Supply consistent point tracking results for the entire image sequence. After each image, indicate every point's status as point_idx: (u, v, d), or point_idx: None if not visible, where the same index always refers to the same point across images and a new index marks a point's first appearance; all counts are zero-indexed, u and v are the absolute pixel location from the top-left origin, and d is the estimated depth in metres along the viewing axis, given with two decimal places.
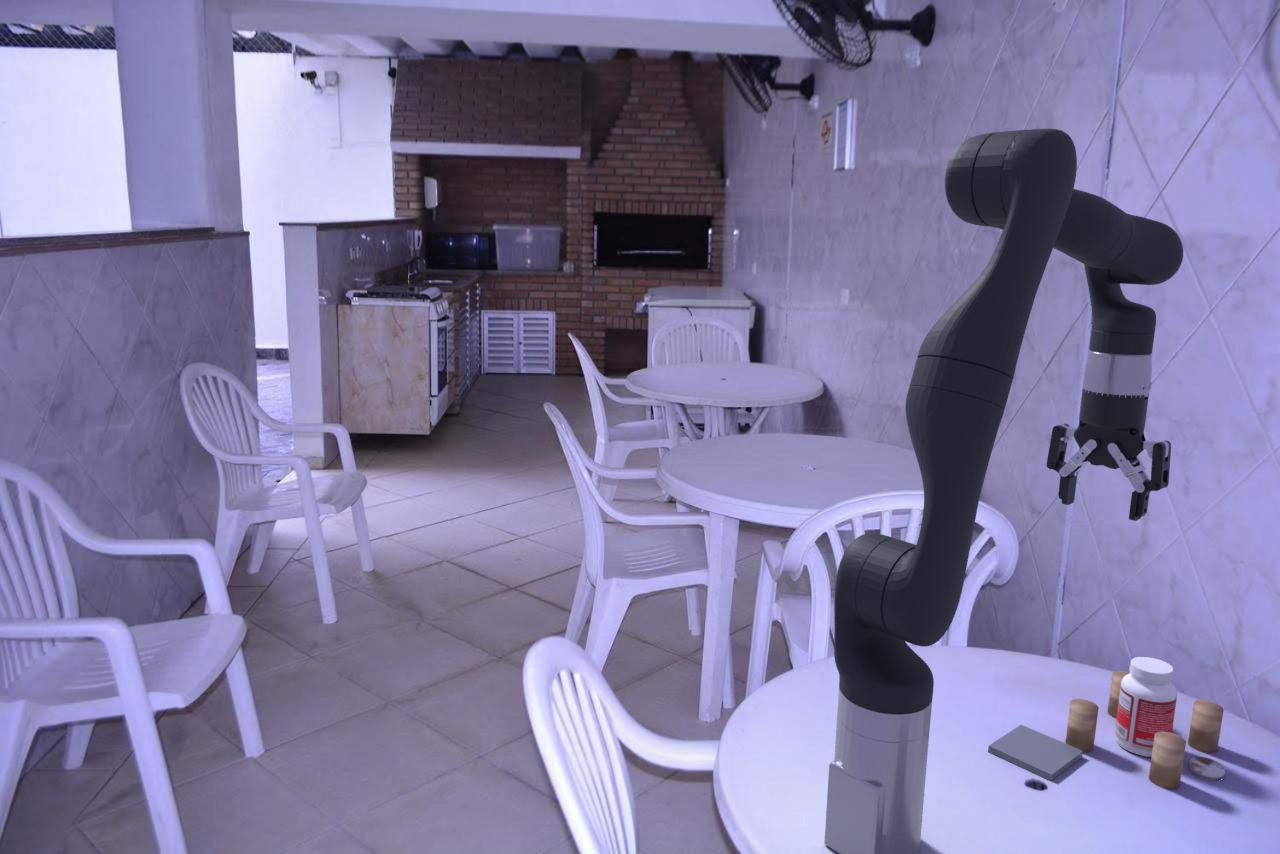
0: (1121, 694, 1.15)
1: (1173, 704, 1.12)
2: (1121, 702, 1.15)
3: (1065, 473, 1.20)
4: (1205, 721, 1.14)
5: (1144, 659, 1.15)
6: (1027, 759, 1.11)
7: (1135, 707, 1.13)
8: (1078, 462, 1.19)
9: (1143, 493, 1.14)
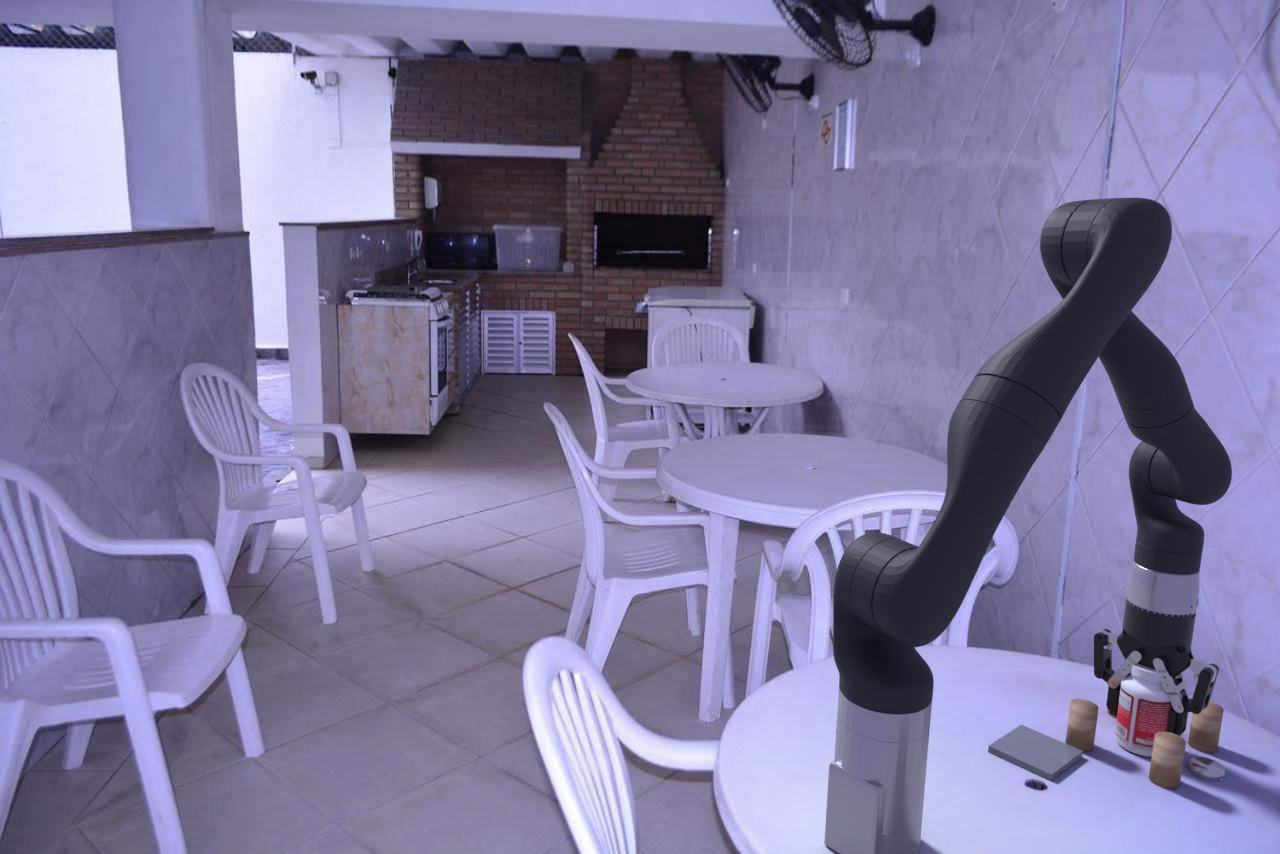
0: (1121, 694, 1.15)
1: None
2: (1121, 702, 1.15)
3: (1114, 684, 1.16)
4: (1205, 721, 1.14)
5: None
6: (1027, 759, 1.11)
7: (1135, 707, 1.13)
8: (1125, 674, 1.15)
9: (1182, 713, 1.11)
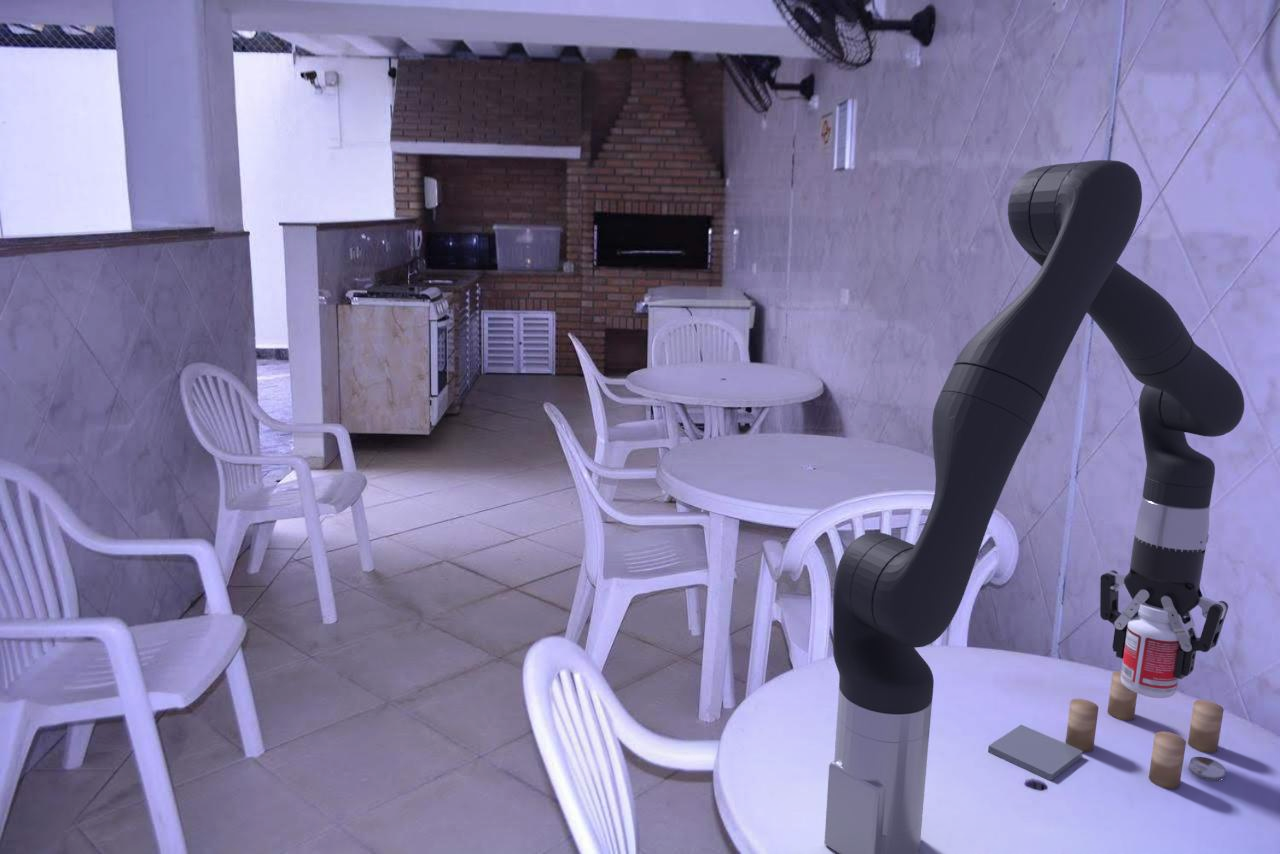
0: (1128, 635, 1.13)
1: None
2: (1128, 643, 1.13)
3: (1120, 625, 1.15)
4: (1205, 721, 1.14)
5: None
6: (1027, 759, 1.11)
7: (1142, 647, 1.11)
8: (1132, 614, 1.13)
9: (1190, 652, 1.09)
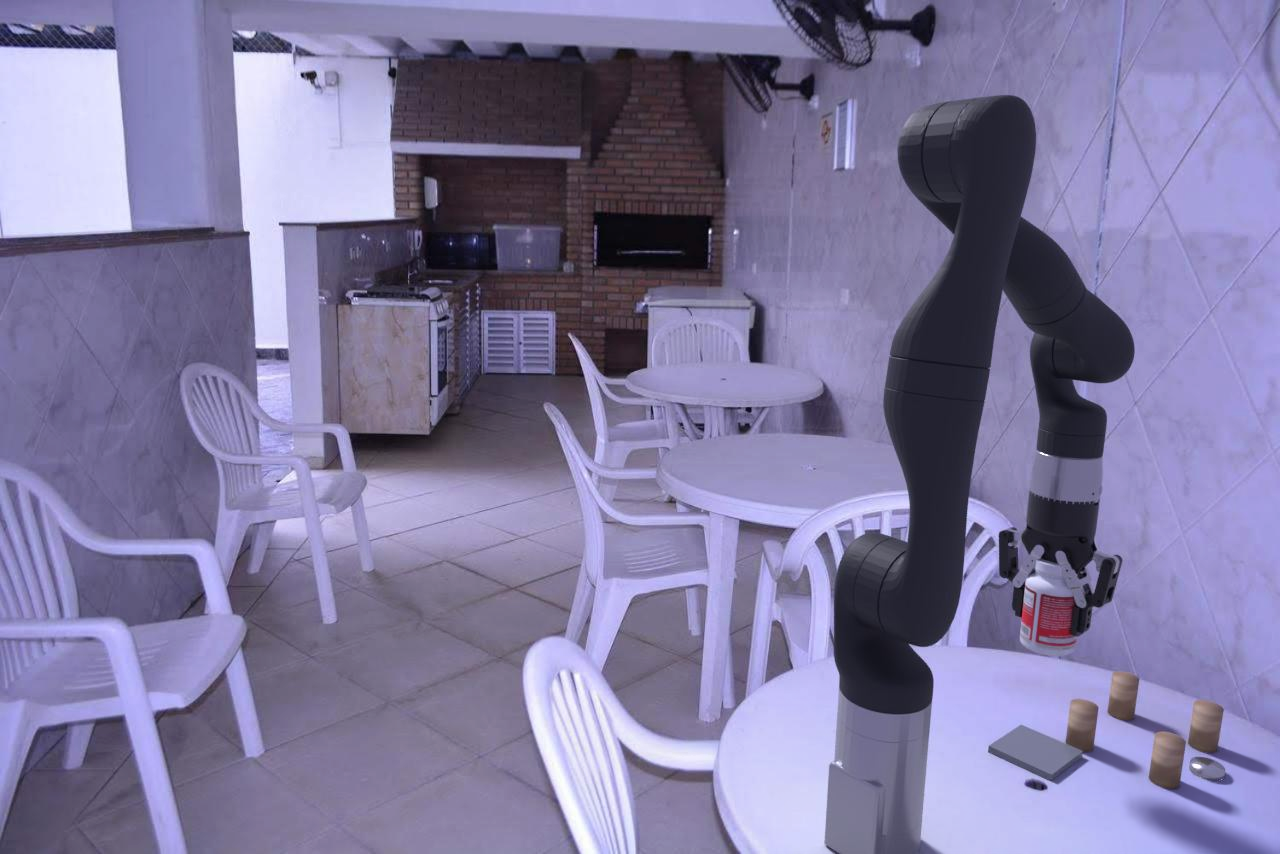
0: (1025, 592, 1.10)
1: None
2: (1025, 600, 1.10)
3: (1018, 583, 1.11)
4: (1205, 721, 1.14)
5: None
6: (1027, 759, 1.11)
7: (1037, 604, 1.08)
8: (1029, 570, 1.09)
9: (1085, 608, 1.06)
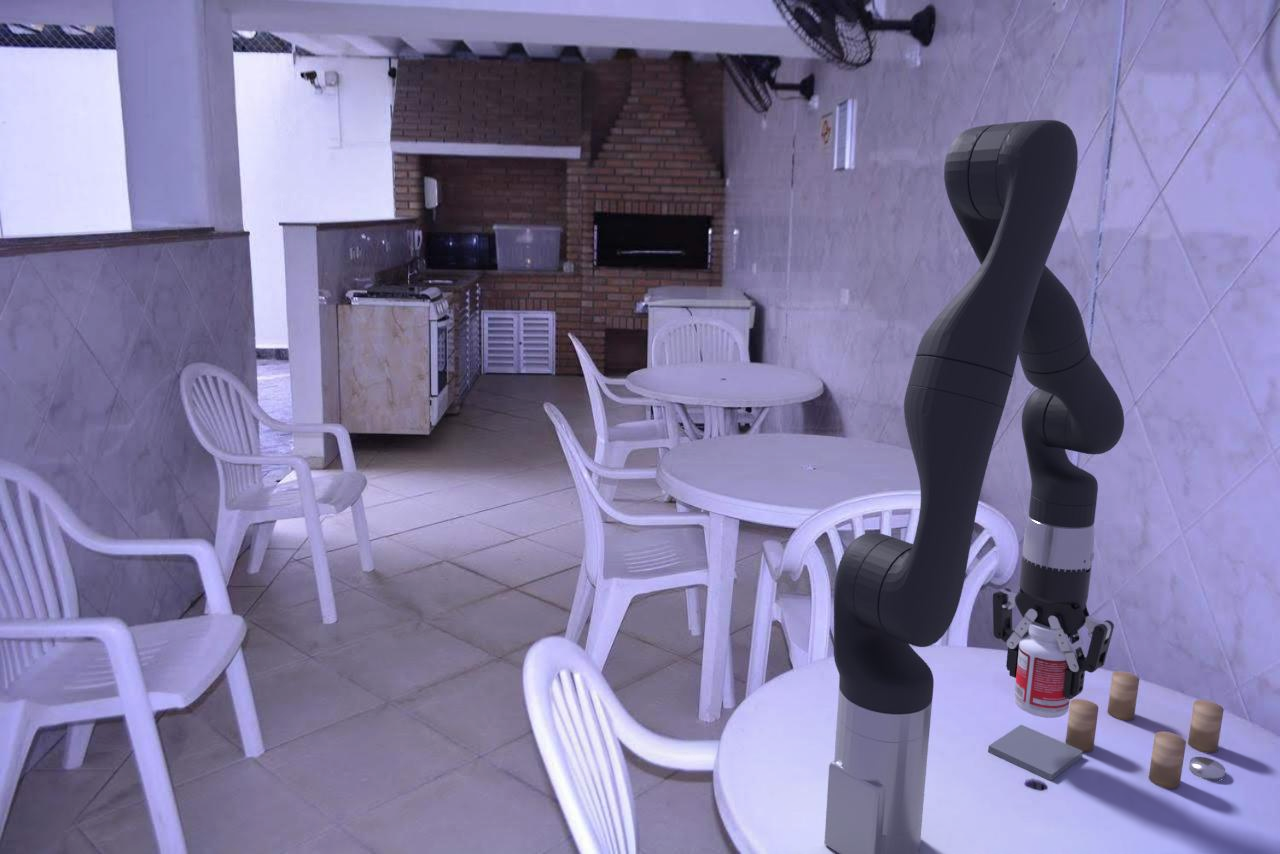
0: (1019, 654, 1.12)
1: None
2: (1019, 662, 1.11)
3: (1012, 644, 1.13)
4: (1205, 721, 1.14)
5: None
6: (1027, 759, 1.11)
7: (1031, 667, 1.09)
8: (1023, 633, 1.11)
9: (1078, 672, 1.07)
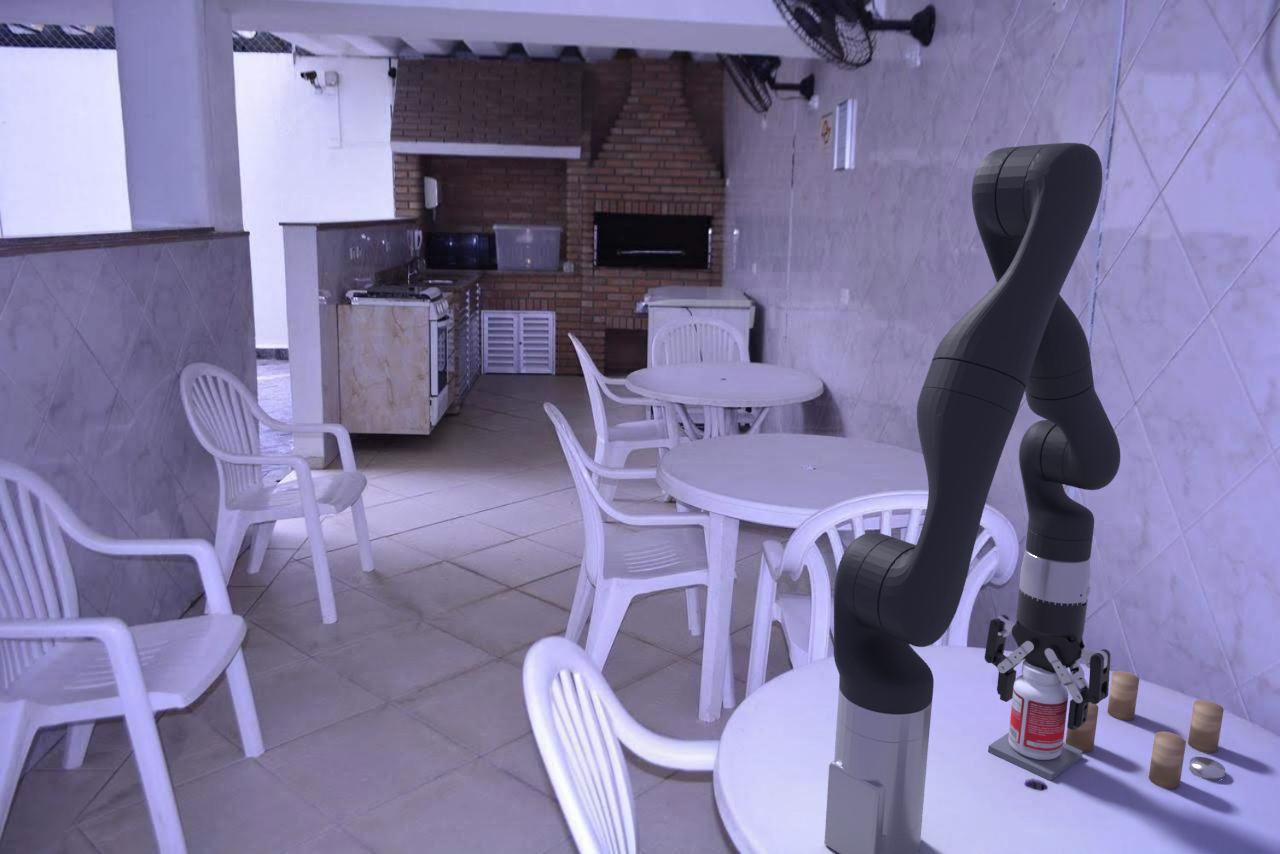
0: (1013, 695, 1.13)
1: (1063, 706, 1.10)
2: (1013, 704, 1.13)
3: (1003, 669, 1.14)
4: (1205, 721, 1.14)
5: None
6: (1027, 759, 1.11)
7: (1025, 709, 1.11)
8: (1015, 661, 1.12)
9: (1082, 703, 1.08)
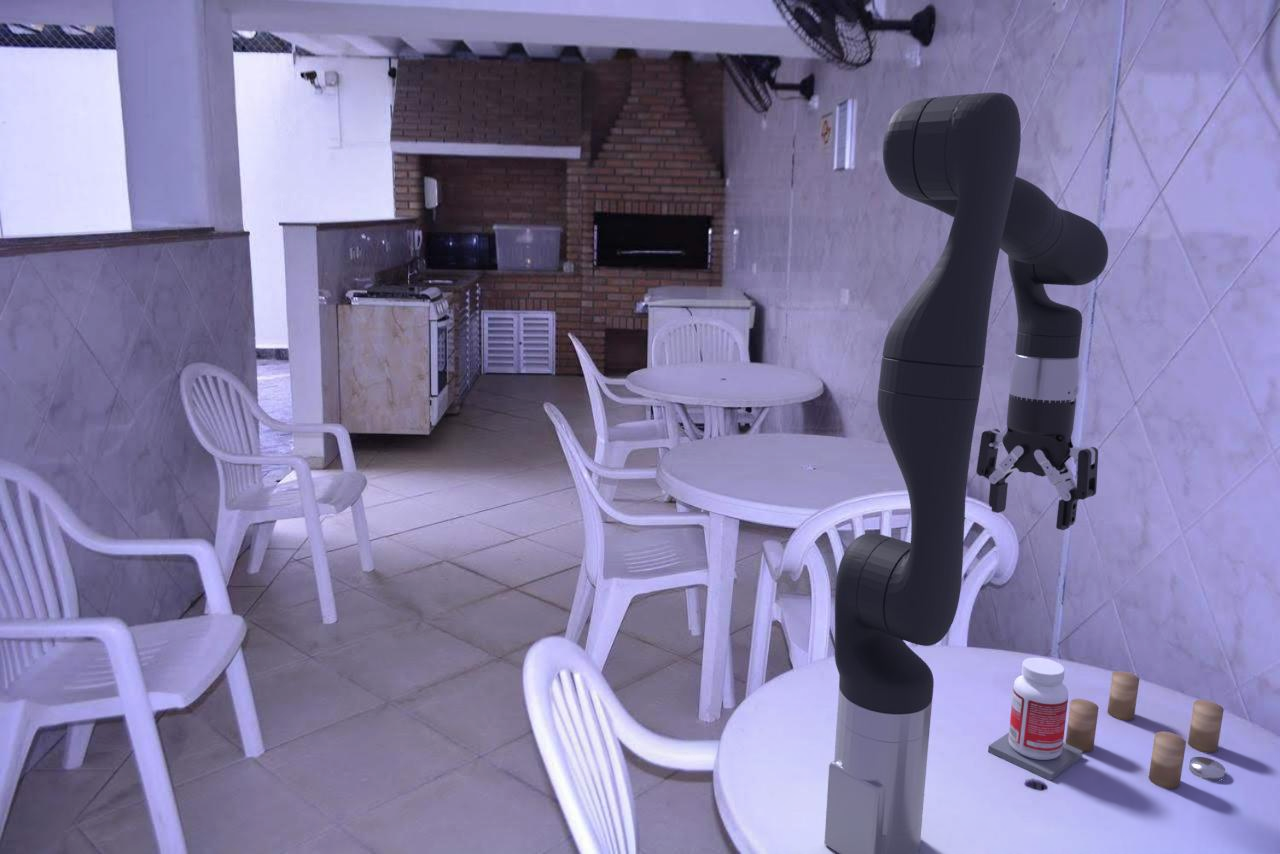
0: (1013, 695, 1.13)
1: (1063, 706, 1.10)
2: (1013, 704, 1.13)
3: (994, 480, 1.17)
4: (1205, 721, 1.14)
5: (1037, 660, 1.13)
6: (1027, 759, 1.11)
7: (1025, 709, 1.11)
8: (1006, 469, 1.15)
9: (1070, 502, 1.10)
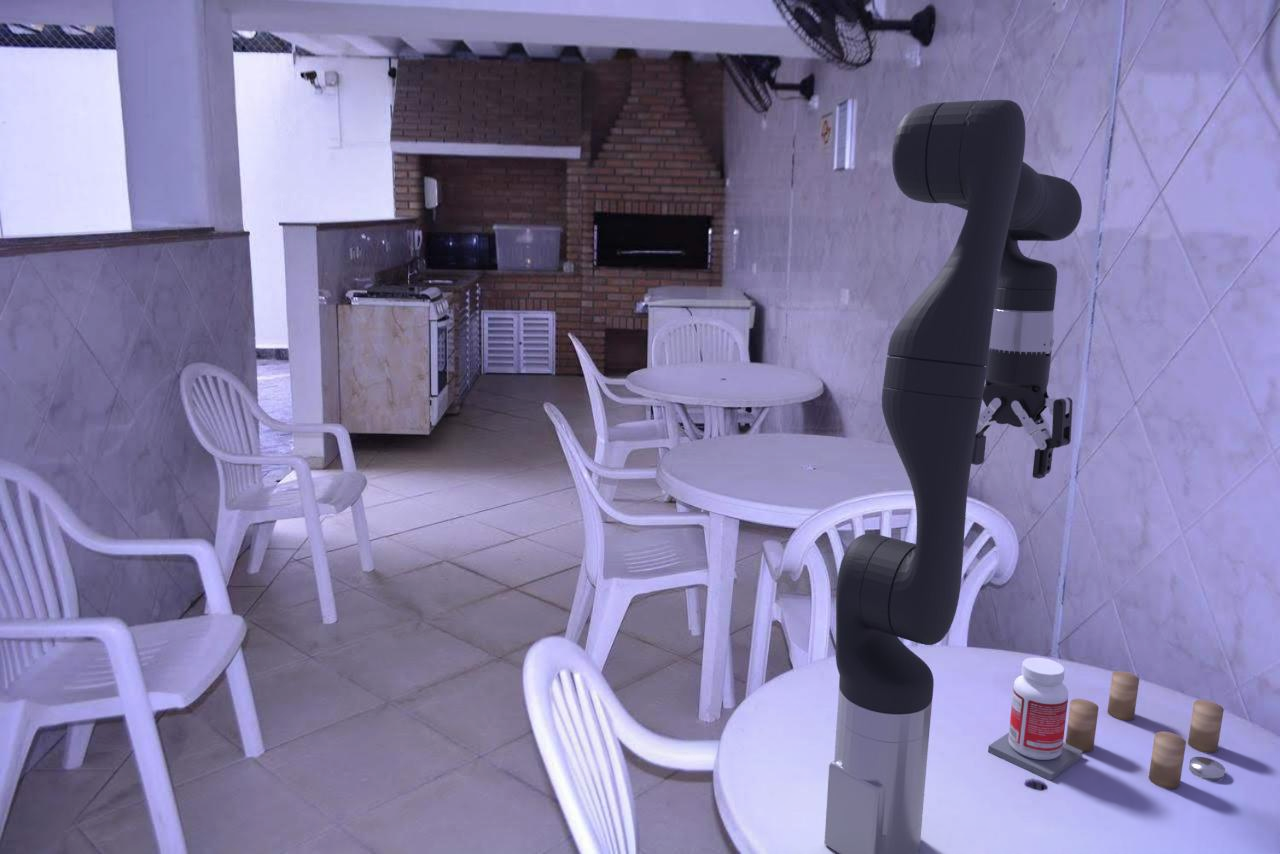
0: (1013, 695, 1.13)
1: (1063, 706, 1.10)
2: (1013, 704, 1.13)
3: None
4: (1205, 721, 1.14)
5: (1037, 660, 1.13)
6: (1027, 759, 1.11)
7: (1025, 709, 1.11)
8: (984, 421, 1.19)
9: (1046, 451, 1.14)
